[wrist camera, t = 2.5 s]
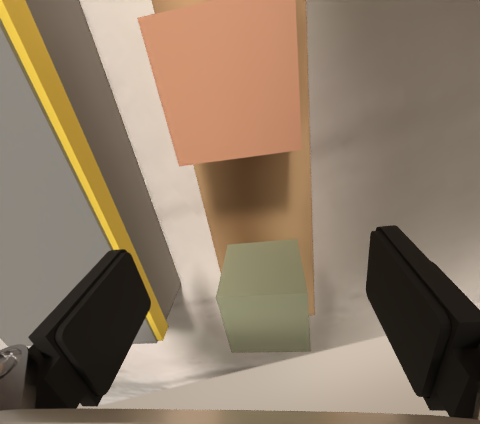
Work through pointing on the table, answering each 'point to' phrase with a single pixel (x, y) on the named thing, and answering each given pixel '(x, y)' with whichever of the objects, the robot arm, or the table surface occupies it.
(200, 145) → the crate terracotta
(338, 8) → the table surface
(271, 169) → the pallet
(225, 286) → the block
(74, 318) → the robot arm
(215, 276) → the table surface
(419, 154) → the table surface
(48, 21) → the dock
